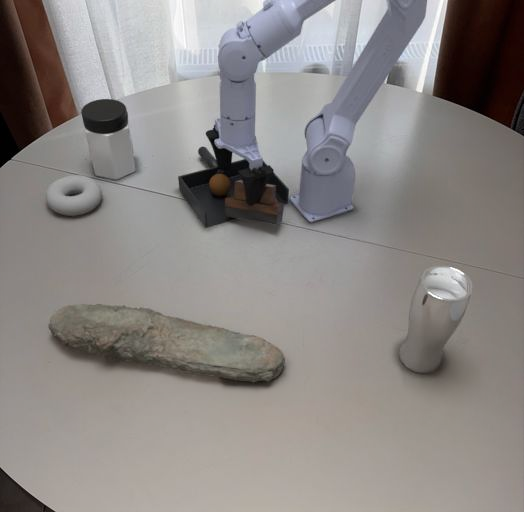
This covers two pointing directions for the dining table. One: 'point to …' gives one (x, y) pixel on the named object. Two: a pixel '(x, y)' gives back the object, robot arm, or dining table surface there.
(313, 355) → the dining table surface
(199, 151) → the dustpan
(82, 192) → the donut
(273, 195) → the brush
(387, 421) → the dining table surface
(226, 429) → the dining table surface
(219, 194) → the cork ball
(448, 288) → the beer glass
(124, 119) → the jar
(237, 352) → the elongated rock
